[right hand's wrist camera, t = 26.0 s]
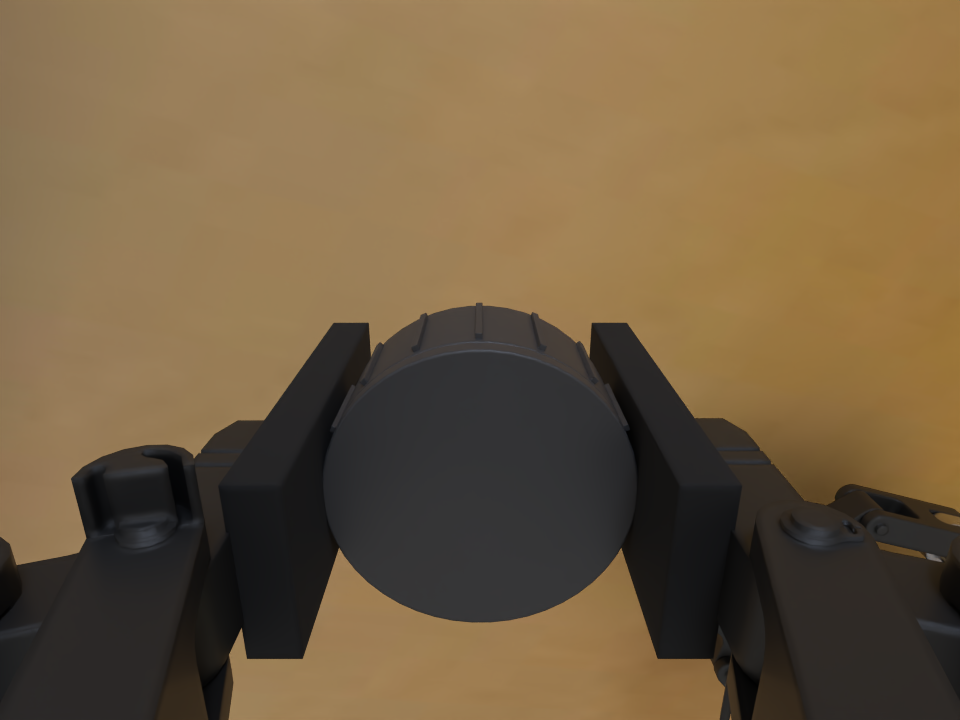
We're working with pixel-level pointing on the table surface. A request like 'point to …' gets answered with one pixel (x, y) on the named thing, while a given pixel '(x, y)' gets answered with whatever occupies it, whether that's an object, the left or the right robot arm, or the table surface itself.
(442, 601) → the lid
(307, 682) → the table surface
